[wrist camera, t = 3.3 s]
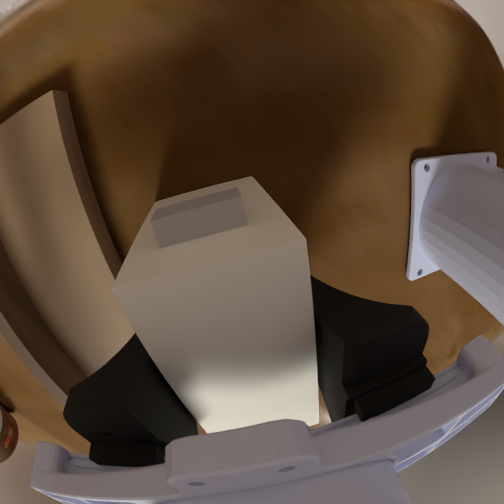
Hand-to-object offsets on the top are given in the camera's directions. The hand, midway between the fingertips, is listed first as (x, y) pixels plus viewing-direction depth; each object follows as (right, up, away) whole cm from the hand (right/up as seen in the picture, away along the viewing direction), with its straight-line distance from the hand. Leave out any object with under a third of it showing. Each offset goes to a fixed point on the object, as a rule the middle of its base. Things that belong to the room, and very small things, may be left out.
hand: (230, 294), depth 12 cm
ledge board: (-9, -1, +1) cm, 9 cm away
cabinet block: (0, +1, +2) cm, 2 cm away
